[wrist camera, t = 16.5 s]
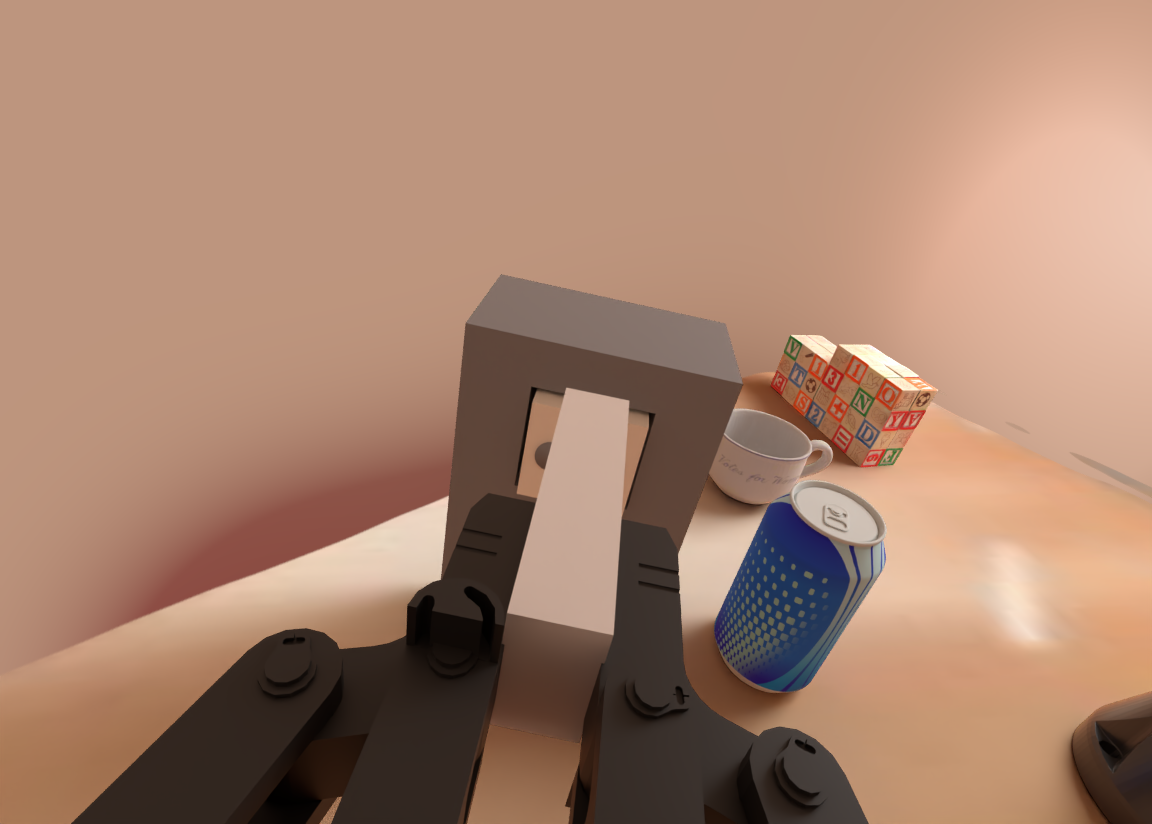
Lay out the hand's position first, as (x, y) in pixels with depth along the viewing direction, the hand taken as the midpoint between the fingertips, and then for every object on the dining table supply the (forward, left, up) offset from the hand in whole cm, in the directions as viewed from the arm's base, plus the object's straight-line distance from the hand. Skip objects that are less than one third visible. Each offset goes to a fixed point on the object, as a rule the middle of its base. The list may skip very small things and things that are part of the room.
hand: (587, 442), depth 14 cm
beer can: (+12, -26, -32) cm, 43 cm away
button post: (+17, -8, -31) cm, 36 cm away
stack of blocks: (+45, -61, -32) cm, 82 cm away
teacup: (+32, -39, -32) cm, 59 cm away
